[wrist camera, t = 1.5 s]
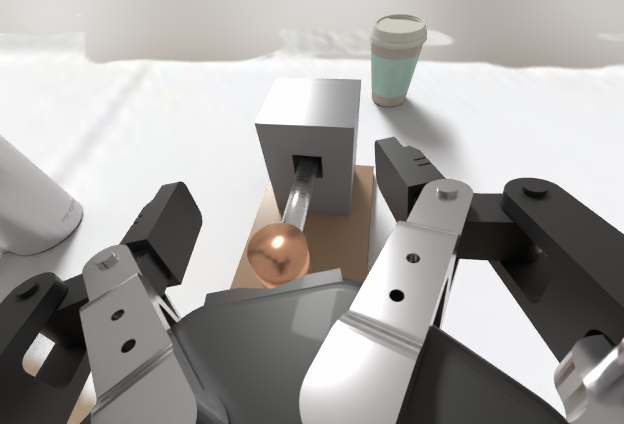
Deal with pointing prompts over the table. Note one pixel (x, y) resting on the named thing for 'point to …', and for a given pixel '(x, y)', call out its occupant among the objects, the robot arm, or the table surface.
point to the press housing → (329, 178)
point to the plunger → (286, 235)
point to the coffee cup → (395, 56)
